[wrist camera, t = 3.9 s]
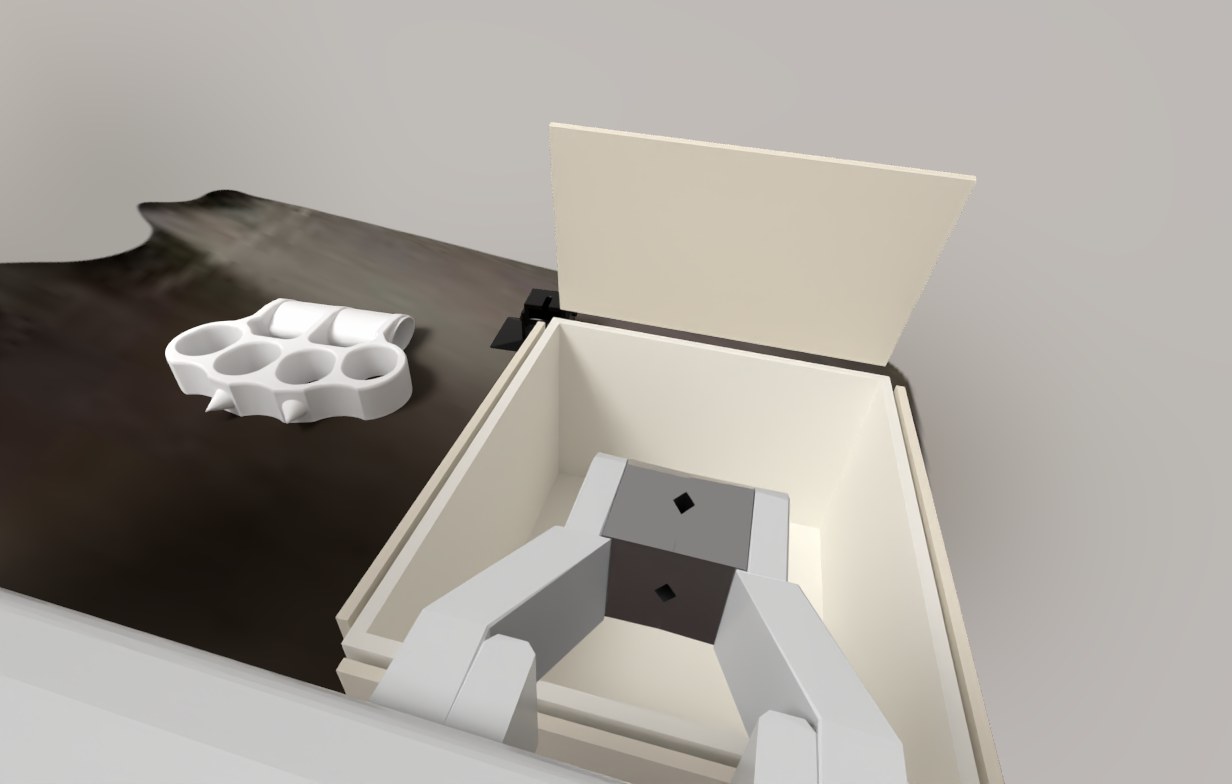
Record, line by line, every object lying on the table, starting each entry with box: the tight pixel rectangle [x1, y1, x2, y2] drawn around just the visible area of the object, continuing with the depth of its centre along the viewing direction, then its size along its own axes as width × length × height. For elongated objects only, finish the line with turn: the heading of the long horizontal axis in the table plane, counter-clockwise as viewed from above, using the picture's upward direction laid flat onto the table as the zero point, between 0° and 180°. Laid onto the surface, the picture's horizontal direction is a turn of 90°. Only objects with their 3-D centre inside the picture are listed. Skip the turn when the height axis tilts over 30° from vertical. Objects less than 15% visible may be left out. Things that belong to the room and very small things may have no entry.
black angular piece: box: [490, 289, 577, 351], centre depth 53 cm, size 12×7×5 cm, turn 82°
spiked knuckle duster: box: [165, 298, 415, 424], centre depth 47 cm, size 3×18×15 cm
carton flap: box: [549, 122, 977, 366], centre depth 28 cm, size 17×10×1 cm
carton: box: [335, 317, 1005, 784], centre depth 28 cm, size 19×21×12 cm
